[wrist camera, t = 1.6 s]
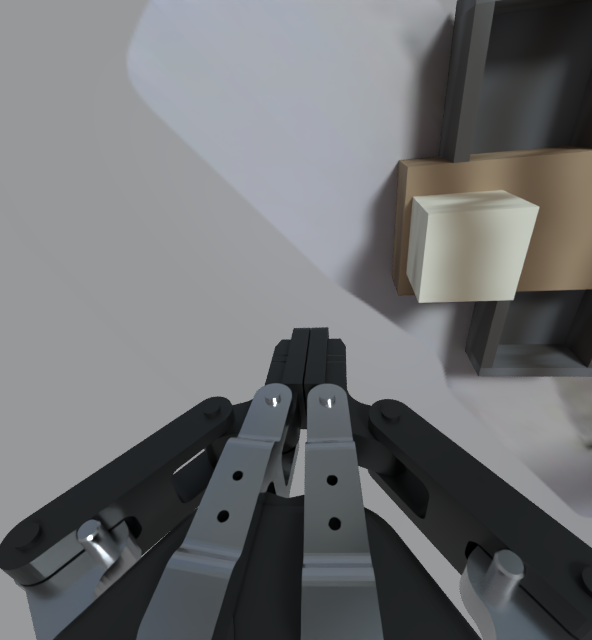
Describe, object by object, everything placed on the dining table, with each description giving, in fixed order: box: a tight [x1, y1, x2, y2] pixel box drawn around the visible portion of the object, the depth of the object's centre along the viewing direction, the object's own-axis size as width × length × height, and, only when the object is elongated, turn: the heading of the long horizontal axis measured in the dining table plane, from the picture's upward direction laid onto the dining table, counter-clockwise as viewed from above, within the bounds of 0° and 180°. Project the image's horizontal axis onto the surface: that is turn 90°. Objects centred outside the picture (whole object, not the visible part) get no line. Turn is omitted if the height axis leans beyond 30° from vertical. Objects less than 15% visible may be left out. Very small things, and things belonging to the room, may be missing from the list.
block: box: [406, 190, 539, 303], centre depth 23 cm, size 6×6×5 cm
